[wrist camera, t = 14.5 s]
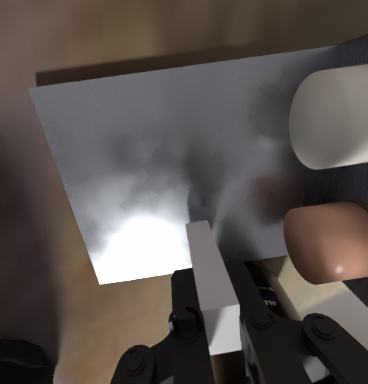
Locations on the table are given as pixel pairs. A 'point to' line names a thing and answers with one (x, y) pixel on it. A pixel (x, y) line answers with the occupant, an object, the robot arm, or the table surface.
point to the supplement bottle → (276, 301)
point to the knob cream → (331, 118)
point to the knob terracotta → (328, 241)
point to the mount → (191, 159)
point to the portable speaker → (23, 364)
